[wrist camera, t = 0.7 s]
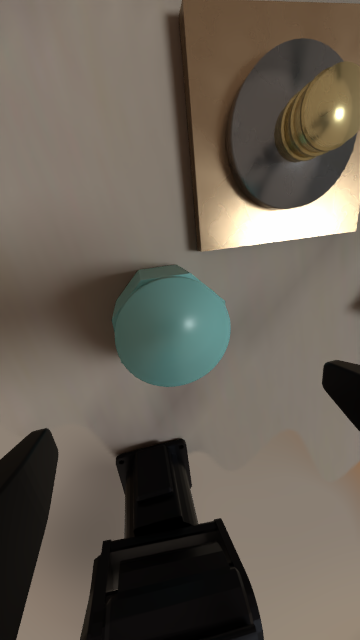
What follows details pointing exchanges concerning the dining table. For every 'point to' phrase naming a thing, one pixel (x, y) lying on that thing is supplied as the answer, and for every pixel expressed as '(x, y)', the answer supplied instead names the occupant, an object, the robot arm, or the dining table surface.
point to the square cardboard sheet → (272, 119)
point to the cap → (169, 326)
